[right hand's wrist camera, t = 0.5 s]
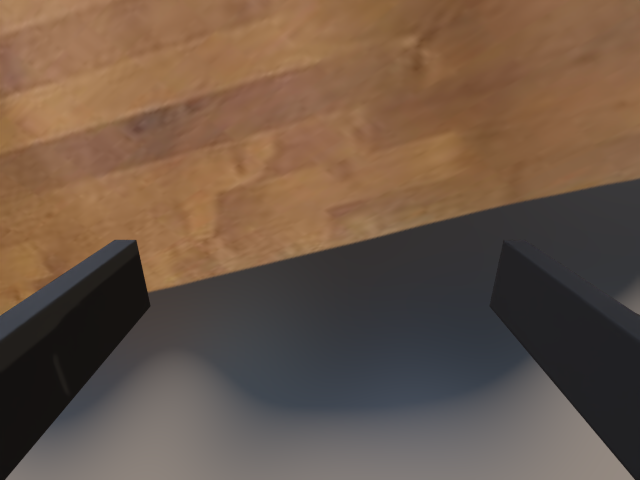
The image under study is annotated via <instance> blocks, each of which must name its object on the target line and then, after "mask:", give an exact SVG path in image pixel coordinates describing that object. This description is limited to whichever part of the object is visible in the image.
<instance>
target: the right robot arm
mask: <svg viewBox="0 0 640 480" xmlns="http://www.w3.org/2000/svg"><path fill="white" fill-rule="evenodd" d="M149 307H150V302H149V297H148V293H147V288H146V283H145V279H144V274H143V269H142V265H141V260H140V255H139V251H138V246H137V241H136V240H114V241H112V242H111V243H109V244H108V245H106V246H105V247H103V248H102V249H100V250H99V251H97V252H96V253H94V254H93V255H91V256H90V257H88V258H87V259H85V260H84V261H82V262H81V263H79V264H78V265H76V266H75V267H73V268H72V269H70V270H69V271H67V272H66V273H64V274H63V275H61V276H60V277H58V278H57V279H55V280H54V281H52V282H51V283H49V284H48V285H46V286H45V287H43V288H42V289H40V290H39V291H37V292H36V293H34V294H33V295H31V296H30V297H28V298H27V299H25V300H23V301H22V302H20V303H19V304H17V305H16V306H14V307H13V308H11V309H10V310H8V311H7V312H5V313H4V314H2V315H1V316H0V480H5V479H6V478H7V477H8V475H9V474H10V473H11V472H12V471H13V469H14V468H15V467H16V466H17V465H18V463H19V462H20V461H21V460H22V459H23V458H24V456H25V455H26V454H27V453H28V452H29V450H30V449H31V448H32V447H33V446H34V444H35V443H36V442H37V441H38V440H39V438H40V437H41V436H42V435H43V434H44V432H45V431H46V430H47V429H48V428H49V426H50V425H51V424H52V423H53V422H54V421H55V419H56V418H57V417H58V416H59V415H60V413H61V412H62V411H63V410H64V409H65V407H66V406H67V405H68V404H69V403H70V401H71V400H72V399H73V398H74V397H75V395H76V394H77V393H78V392H79V391H80V389H81V388H82V387H83V386H84V385H85V384H86V382H87V381H88V380H89V379H90V378H91V376H92V375H93V374H94V373H95V372H96V370H97V369H98V368H99V367H100V366H101V364H102V363H103V362H104V361H105V360H106V359H107V357H108V356H109V355H110V354H111V353H112V351H113V350H114V349H115V348H116V347H117V345H118V344H119V343H120V342H121V341H122V339H123V338H124V337H125V336H126V335H127V333H128V332H129V331H130V330H131V329H132V328H133V326H134V325H135V324H136V323H137V322H138V320H139V319H140V318H141V317H142V316H143V314H144V313H145V312H146V311H147V310H148V308H149ZM490 307H491V308H492V310H493V311H494V312H495V313H496V314H497V316H498V317H499V318H500V319H501V320H502V322H503V323H504V324H505V325H506V326H507V328H508V329H509V330H510V331H511V332H512V333H513V335H514V336H515V337H516V338H517V339H518V341H519V342H520V343H521V344H522V345H523V347H524V348H525V349H526V350H527V351H528V353H529V354H530V355H531V356H532V357H533V359H534V360H535V361H536V362H537V363H538V364H539V366H540V367H541V368H542V369H543V370H544V372H545V373H546V374H547V375H548V376H549V378H550V379H551V380H552V381H553V382H554V384H555V385H556V386H557V387H558V388H559V390H560V391H561V392H562V393H563V394H564V395H565V397H566V398H567V399H568V400H569V401H570V403H571V404H572V405H573V406H574V407H575V409H576V410H577V411H578V412H579V413H580V415H581V416H582V417H583V418H584V419H585V421H586V422H587V423H588V424H589V425H590V427H591V428H592V429H593V430H594V431H595V432H596V434H597V435H598V436H599V437H600V438H601V440H602V441H603V442H604V443H605V444H606V446H607V447H608V448H609V449H610V450H611V452H612V453H613V454H614V455H615V456H616V458H617V459H618V460H619V461H620V462H621V464H622V465H623V466H624V467H625V468H626V469H627V471H628V472H629V473H630V474H631V475H632V477H633V478H634V479H635V480H640V315H639V314H637V313H635V312H633V311H632V310H630V309H629V308H627V307H626V306H624V305H622V304H621V303H620V302H618V301H616V300H615V299H613V298H612V297H610V296H609V295H607V294H606V293H604V292H603V291H601V290H600V289H598V288H597V287H595V286H594V285H592V284H591V283H589V282H588V281H586V280H585V279H583V278H582V277H580V276H579V275H577V274H576V273H574V272H573V271H571V270H570V269H568V268H567V267H565V266H564V265H562V264H561V263H559V262H558V261H556V260H555V259H553V258H552V257H550V256H549V255H547V254H546V253H544V252H543V251H541V250H540V249H538V248H537V247H535V246H534V245H532V244H531V243H529V242H528V241H526V240H504V241H503V246H502V251H501V255H500V260H499V265H498V269H497V274H496V279H495V283H494V288H493V293H492V297H491V302H490Z"/></svg>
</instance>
